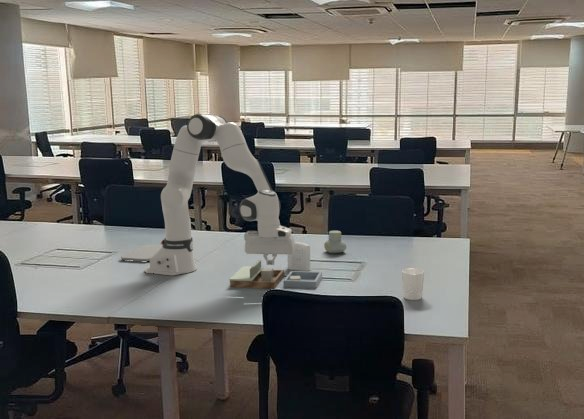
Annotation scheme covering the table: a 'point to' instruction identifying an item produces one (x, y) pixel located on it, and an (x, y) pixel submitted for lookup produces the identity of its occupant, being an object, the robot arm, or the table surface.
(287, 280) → the bin
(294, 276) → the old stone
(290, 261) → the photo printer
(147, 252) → the tablet
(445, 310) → the table surface
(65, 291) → the table surface
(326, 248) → the air freshener
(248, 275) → the lid
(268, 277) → the beige small block
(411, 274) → the white cup
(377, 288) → the table surface
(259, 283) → the wooden tray
